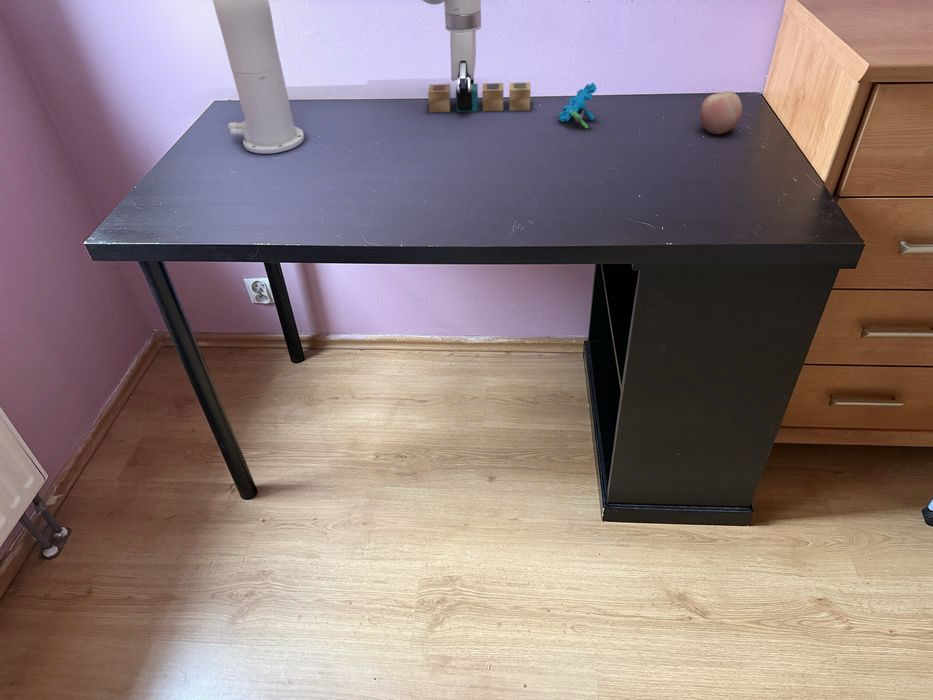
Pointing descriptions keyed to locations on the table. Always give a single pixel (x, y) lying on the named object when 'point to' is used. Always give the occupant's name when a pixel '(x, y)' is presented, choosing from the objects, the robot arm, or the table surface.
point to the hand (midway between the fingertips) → (466, 102)
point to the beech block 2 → (492, 96)
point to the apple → (721, 112)
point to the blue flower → (579, 106)
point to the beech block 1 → (439, 98)
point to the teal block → (474, 97)
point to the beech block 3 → (519, 96)
